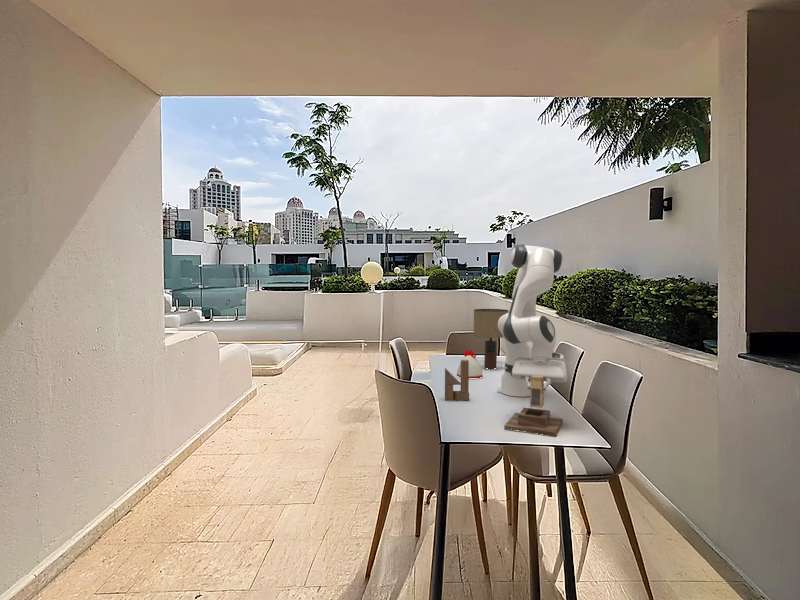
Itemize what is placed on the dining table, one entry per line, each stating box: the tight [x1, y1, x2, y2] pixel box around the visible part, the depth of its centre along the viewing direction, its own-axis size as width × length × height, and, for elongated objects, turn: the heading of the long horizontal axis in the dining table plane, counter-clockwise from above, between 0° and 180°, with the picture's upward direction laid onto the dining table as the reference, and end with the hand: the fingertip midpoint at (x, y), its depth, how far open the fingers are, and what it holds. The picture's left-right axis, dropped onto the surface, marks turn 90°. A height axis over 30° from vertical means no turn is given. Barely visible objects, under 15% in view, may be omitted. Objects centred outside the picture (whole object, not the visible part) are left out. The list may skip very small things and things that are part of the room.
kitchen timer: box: [456, 349, 483, 379], centre depth 269 cm, size 14×14×15 cm
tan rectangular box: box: [529, 375, 545, 409], centre depth 182 cm, size 5×4×11 cm
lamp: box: [473, 308, 510, 369], centre depth 289 cm, size 20×20×35 cm
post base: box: [503, 407, 564, 437], centre depth 183 cm, size 18×18×5 cm
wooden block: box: [444, 359, 470, 401], centre depth 220 cm, size 4×11×18 cm, turn 90°
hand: (536, 389), depth 182 cm, fingers closed on tan rectangular box, 4 cm apart
